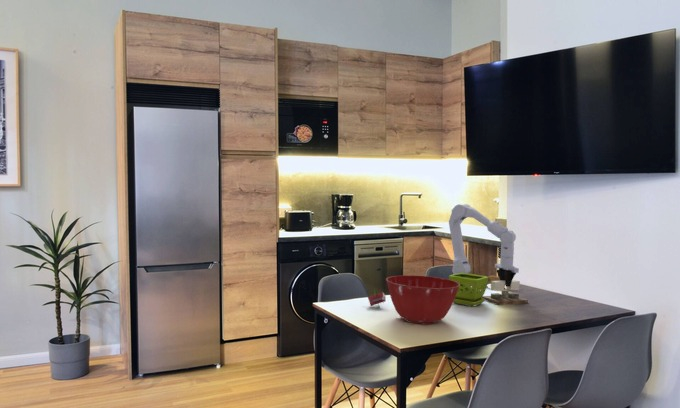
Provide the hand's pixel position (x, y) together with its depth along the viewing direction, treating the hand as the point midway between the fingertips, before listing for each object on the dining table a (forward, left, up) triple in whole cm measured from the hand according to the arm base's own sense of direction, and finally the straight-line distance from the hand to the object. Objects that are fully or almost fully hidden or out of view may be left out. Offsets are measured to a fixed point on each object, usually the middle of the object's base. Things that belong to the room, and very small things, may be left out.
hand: (505, 285), depth 258 cm
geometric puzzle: (-65, +4, -8) cm, 66 cm away
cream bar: (0, 0, -2) cm, 2 cm away
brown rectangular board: (0, 0, -7) cm, 7 cm away
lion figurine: (+19, +29, -8) cm, 35 cm away
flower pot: (-21, 0, -8) cm, 22 cm away
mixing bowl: (-58, -21, -8) cm, 62 cm away
